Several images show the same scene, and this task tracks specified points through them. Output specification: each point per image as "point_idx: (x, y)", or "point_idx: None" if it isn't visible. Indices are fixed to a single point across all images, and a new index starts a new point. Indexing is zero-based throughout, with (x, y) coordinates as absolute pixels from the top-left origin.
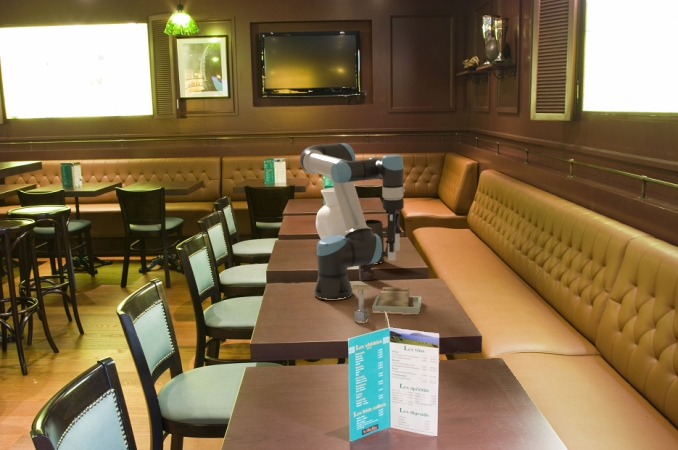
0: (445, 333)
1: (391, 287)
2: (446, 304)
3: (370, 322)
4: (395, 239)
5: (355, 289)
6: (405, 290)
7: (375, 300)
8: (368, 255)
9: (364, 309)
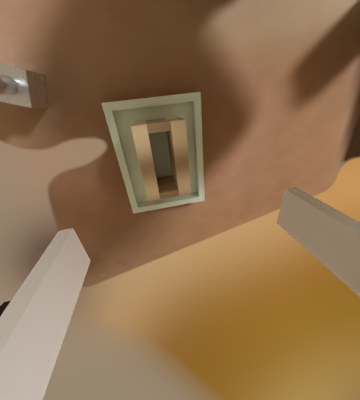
0: None
1: (186, 148)
2: (199, 231)
3: (39, 116)
4: (347, 254)
5: None
6: (177, 186)
7: (155, 99)
8: None
9: (26, 93)
